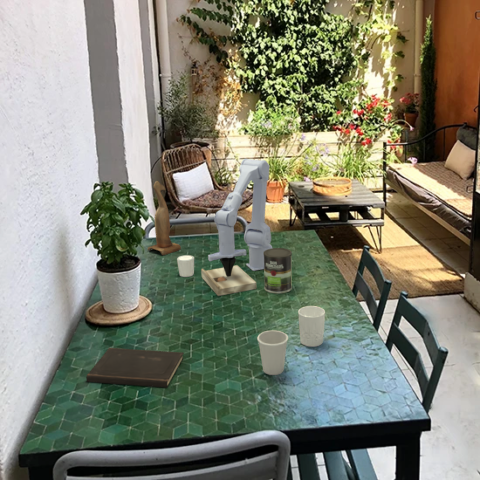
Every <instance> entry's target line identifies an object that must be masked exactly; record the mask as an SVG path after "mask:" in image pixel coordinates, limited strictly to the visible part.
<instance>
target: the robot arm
mask: <svg viewBox="0 0 480 480" xmlns="http://www.w3.org/2000/svg"><path fill="white" fill-rule="evenodd" d="M238 169H239V175H238V178H237V180H236V183H235V186H234V189H233V191H232V192H229V193H228V195H227V197H226V199H225V201H224V203H223V205H222V207H221V209H219V210H218V211H216V212H215V215H214V223H215V225H216V229H217V230H218V231H217V232H218V246H219V249H218V250H219V251H218V252H214V253H211V254H208V255H207V258H208V261H209V262H212V261H216V260H219V261H220V263H221V264H222V268H223V267H224V270H225V273H226V276H227V277H229V276H231V273H232V269H233V266H235V264H236V261H237V258H236V257H240V256H247V250H246V248H243V249H235V248H236V247H235V246H236V245H235V229H234V228H235V224H236V223H237V217H238V211H239V210H240V206H241V205H242V203H243V197H242V196H243V194H244V192H245V191H246V190H247V187H248V186H249V184H251V182H252V183H253V186H252V187H253V189H252V202H251V203H252V205H251V208H252V209H251V221H250V222H249V224H247V225H246V227H245V232H244V235H243V239H244V242H245V244H246V246H247V247H248V257H249V260H248V261H249V263H245V266H246V267H248V268H249V269H250V270H251V271H254V272H255V271H259V270H260V271H261V270H264V254H263V253H264V251H265V250H268V249H271V248H273V246H272V245H271V244H270V243H271V242H272V234H271V227H270V226H269V225H268V224H267V223H266V221H265V217H266V204H267V203H266V202H267V189H268V188H267V187H268V185H267V184H268V181H269V178H270V177H269V176H270V164H269V163H268V161H267V160H264V159H263V160H261V159H249V158H244V159H242V160H241V162H240V165H239V168H238Z"/></svg>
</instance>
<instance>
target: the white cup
mask: <svg viewBox="0 0 480 480" xmlns="http://www.w3.org/2000/svg"><path fill="white" fill-rule="evenodd" d="M297 313H298V327H299V329H298V330H299V341H300V344H302V345H303V346H306V347H315V348H316V347H319V346H321V345H322V344H323V342H324V332H325V318H326V311H325V309H324V308H322V307H319V306H316V305H306V306H303V307H301V308H299V309H298V311H297Z"/></svg>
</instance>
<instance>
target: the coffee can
mask: <svg viewBox="0 0 480 480" xmlns="http://www.w3.org/2000/svg"><path fill="white" fill-rule="evenodd" d="M263 254H264V269H263V271H264V272H263V274H264V275H263V276H264V279H263V281H264V290H265V291H266V292H268V293H270V294H286V293H288V292H290V291H291V290H293V285H292V283H293V281H292V280H293V279H292V277H293V276H292V271H293V270H292V268H293V266H292V265H293V264H292V258H293V257H292V255H293V252H292V251H291V250H290V249H288V248H283V247H272V248H271V249H268V250H265V251H264V253H263Z"/></svg>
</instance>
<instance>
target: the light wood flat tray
mask: <svg viewBox="0 0 480 480" xmlns="http://www.w3.org/2000/svg"><path fill="white" fill-rule="evenodd" d="M200 273H201V278H202V279H203V280H204V282H206V284H207V285H208V286H209V287H210V289H212V291H213V292H214V293H215V294H216V295H217V296H218V297H219V296H224V295H231V294H235V293H236V294H237V293H239V292H240V293H241V292H247V291H253V290H257V281H256V280H254V278H252V277H251V276H250V275H249V274H248V273H247V272H245V271H244V270H243V269H242V268H241V267H240V266H239V265H237V264H236V265H234V266H233V269H232V273H231V276H229V277H227V276H226V273H225V270H224V268H223V267H220V268H213V269H208V270H205V269H204V268H201V272H200ZM220 277H224V278H225V279H226V281H220V282H217V281H218V278H220Z"/></svg>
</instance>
